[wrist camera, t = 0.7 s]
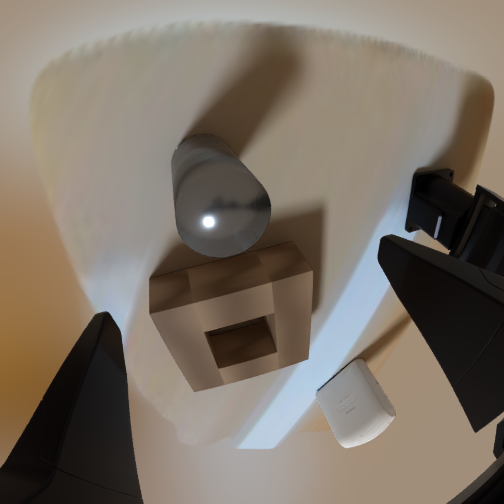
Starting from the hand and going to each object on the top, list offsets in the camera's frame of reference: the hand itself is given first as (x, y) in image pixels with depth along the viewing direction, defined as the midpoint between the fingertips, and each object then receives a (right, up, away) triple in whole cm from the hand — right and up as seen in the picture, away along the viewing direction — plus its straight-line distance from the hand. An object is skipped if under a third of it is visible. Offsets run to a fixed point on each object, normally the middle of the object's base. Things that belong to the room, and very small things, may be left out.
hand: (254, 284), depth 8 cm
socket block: (-2, -4, +18) cm, 18 cm away
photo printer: (+14, -19, +34) cm, 41 cm away
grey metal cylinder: (-3, +7, +10) cm, 12 cm away
